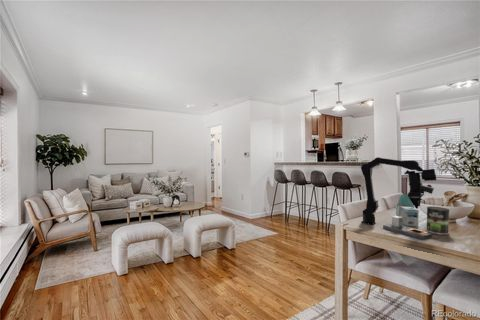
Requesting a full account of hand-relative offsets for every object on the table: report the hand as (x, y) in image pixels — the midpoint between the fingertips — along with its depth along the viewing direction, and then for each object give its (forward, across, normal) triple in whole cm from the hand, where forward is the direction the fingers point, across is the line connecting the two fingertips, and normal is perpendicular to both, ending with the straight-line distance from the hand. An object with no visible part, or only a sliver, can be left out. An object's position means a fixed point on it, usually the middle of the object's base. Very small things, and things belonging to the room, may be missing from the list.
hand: (417, 207), depth 145 cm
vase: (+13, +26, +11) cm, 32 cm away
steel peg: (+13, -6, +11) cm, 18 cm away
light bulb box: (+14, +14, +8) cm, 21 cm away
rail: (+14, -8, +6) cm, 17 cm away
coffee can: (+15, +6, -7) cm, 18 cm away
